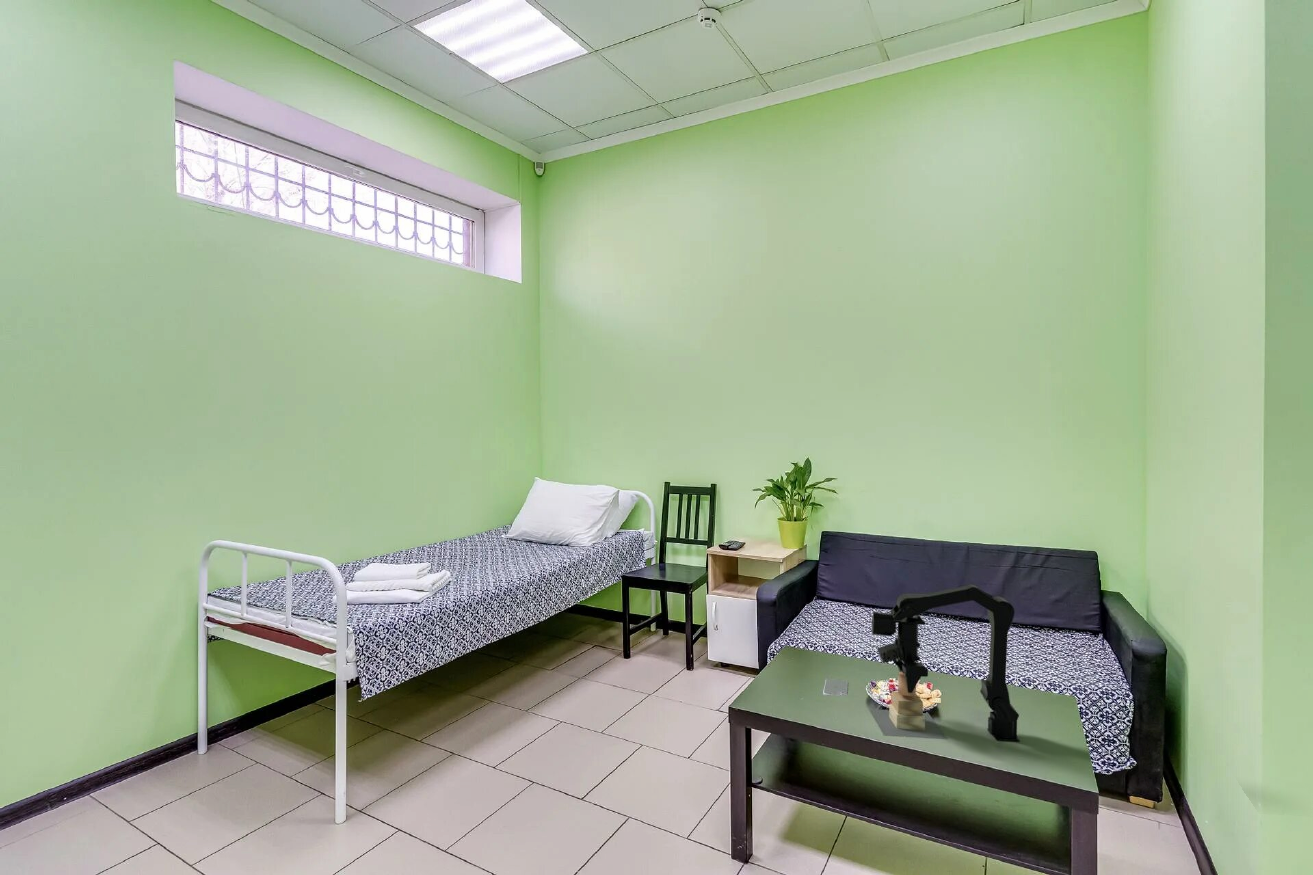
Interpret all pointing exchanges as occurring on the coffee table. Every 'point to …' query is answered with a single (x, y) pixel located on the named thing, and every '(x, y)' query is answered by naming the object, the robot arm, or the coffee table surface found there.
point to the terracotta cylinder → (904, 685)
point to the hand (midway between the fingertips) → (907, 689)
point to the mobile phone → (835, 687)
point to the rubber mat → (890, 729)
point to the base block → (906, 720)
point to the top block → (907, 704)
